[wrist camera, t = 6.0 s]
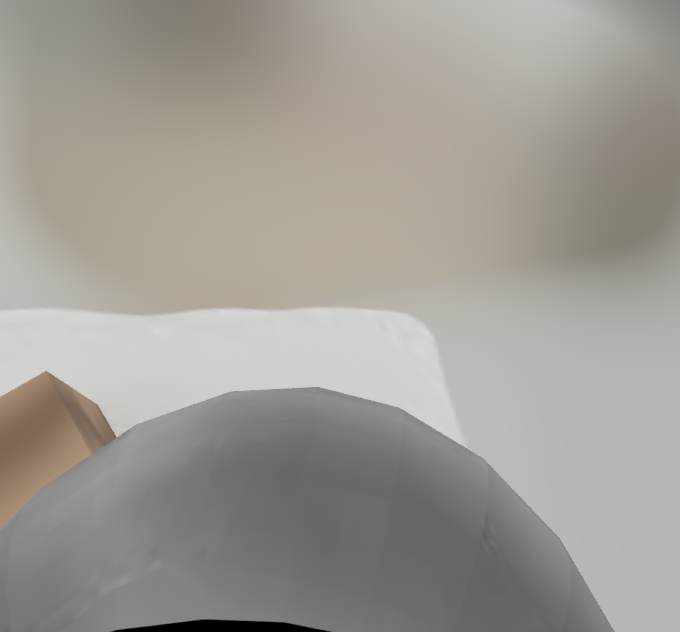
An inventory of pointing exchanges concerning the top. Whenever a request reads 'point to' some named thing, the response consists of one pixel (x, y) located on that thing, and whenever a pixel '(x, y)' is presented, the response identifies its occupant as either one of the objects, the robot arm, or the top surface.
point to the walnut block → (44, 438)
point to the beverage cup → (286, 530)
